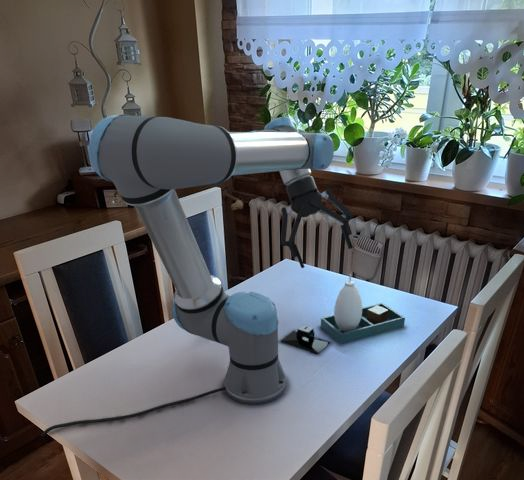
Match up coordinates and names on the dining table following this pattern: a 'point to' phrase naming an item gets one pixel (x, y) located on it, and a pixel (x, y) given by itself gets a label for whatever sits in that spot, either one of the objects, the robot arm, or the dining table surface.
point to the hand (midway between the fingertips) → (326, 258)
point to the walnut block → (377, 315)
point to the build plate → (305, 340)
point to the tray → (363, 326)
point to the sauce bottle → (348, 307)
